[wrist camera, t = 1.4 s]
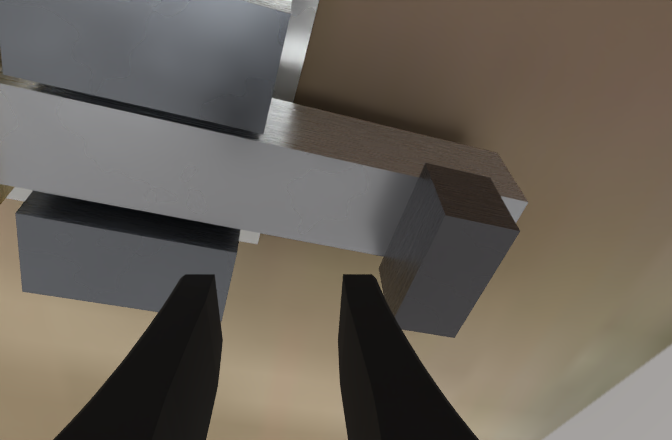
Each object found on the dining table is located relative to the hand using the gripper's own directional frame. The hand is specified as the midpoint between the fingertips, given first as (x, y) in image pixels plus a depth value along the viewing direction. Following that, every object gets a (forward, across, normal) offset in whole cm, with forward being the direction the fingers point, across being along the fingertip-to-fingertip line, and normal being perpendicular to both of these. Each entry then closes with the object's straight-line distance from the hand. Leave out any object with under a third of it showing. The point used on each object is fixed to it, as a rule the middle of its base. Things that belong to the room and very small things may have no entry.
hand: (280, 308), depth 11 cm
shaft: (+7, +2, -1) cm, 8 cm away
